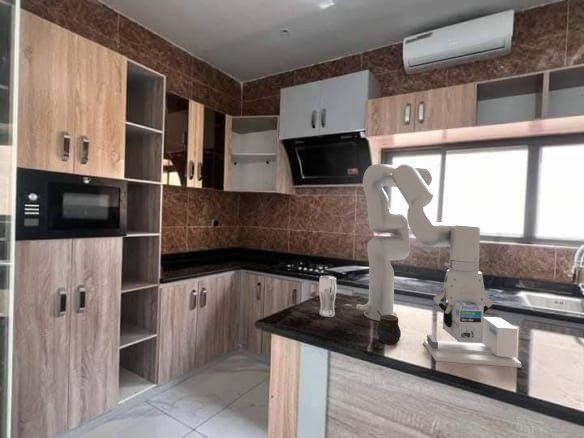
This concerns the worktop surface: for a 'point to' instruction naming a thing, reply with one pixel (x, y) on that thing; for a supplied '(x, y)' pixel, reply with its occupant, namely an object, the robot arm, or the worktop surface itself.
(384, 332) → the mate gourd
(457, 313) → the light bulb box
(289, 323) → the worktop surface
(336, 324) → the worktop surface
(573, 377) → the worktop surface
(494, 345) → the mounted module
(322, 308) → the beer glass
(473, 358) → the mounting plate
